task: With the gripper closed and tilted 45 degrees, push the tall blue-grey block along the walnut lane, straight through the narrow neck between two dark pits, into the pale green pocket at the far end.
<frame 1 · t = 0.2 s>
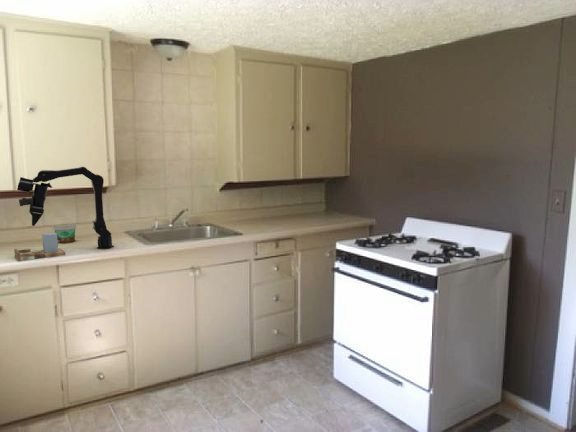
hand: (33, 224, 238), 16 cm above the countertop, tool tilted 15°, fingers open, 9 cm apart
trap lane: (39, 256, 236), on the countertop
food container: (67, 242, 270), on the countertop
blue-grey block: (50, 251, 239), point 2 cm above the countertop, touching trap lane
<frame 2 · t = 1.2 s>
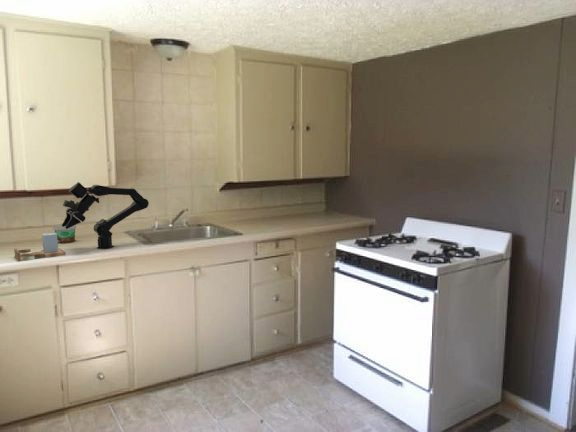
hand: (64, 227, 242), 13 cm above the countertop, tool tilted 45°, fingers open, 8 cm apart
nothing on the countertop moved.
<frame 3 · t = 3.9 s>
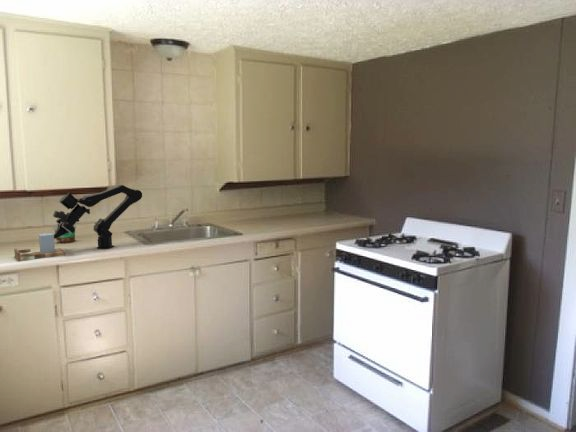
hand: (53, 238, 239), 8 cm above the countertop, tool tilted 45°, fingers closed, pressing on blue-grey block
blue-grey block: (47, 251, 239), point 2 cm above the countertop, touching gripper
everything else where it was.
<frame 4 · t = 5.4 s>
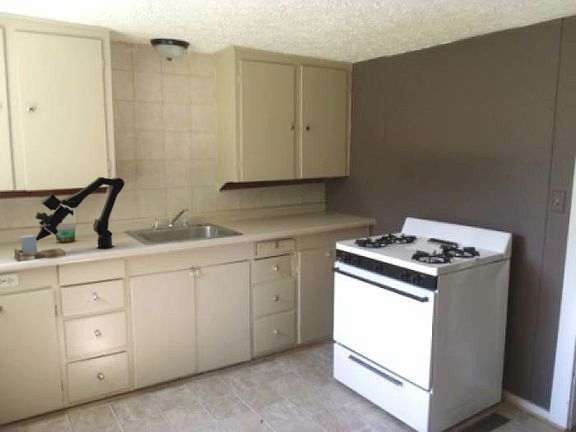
hand: (35, 240, 235), 8 cm above the countertop, tool tilted 45°, fingers closed
blue-grey block: (29, 254, 234), point 2 cm above the countertop
everything else where it was.
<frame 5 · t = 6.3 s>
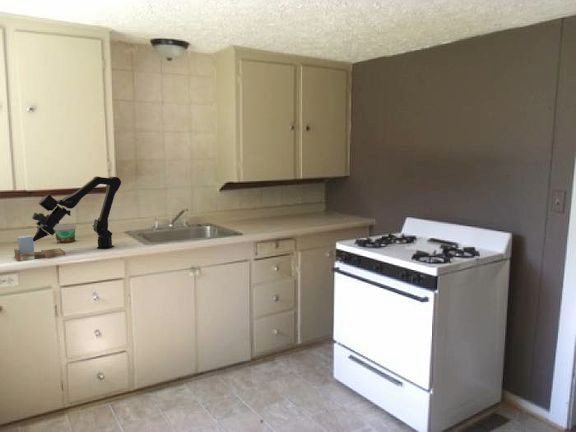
hand: (33, 240, 234), 8 cm above the countertop, tool tilted 45°, fingers closed
blue-grey block: (26, 254, 233), point 2 cm above the countertop, touching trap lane
everything else where it was.
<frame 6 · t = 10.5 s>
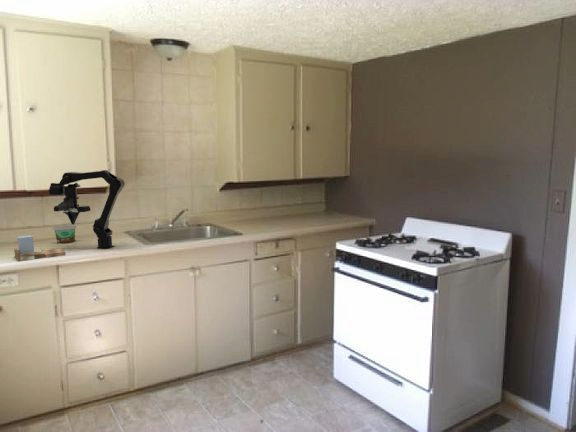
hand: (73, 224, 253), 13 cm above the countertop, tool pointing down, fingers closed
nothing on the countertop moved.
at the end: blue-grey block 1.4 cm from the target spot, point 1.6 cm above the countertop; blue-grey block tilted 0° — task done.
